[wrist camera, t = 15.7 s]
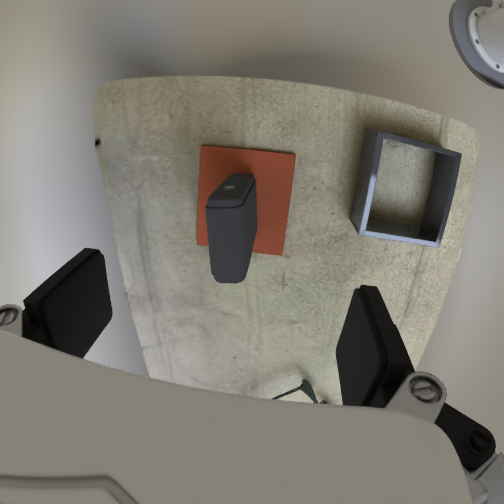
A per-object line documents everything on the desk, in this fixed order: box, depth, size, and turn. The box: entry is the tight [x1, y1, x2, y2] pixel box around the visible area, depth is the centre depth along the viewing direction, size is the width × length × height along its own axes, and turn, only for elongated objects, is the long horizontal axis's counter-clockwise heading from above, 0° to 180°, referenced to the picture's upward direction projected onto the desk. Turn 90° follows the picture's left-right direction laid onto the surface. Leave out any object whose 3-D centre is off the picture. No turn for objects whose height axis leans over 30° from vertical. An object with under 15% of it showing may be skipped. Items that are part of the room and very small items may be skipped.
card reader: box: [205, 173, 258, 283], centre depth 37 cm, size 9×4×15 cm, turn 2°
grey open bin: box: [350, 129, 462, 248], centre depth 38 cm, size 14×13×6 cm
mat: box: [197, 145, 296, 256], centre depth 44 cm, size 15×13×1 cm
